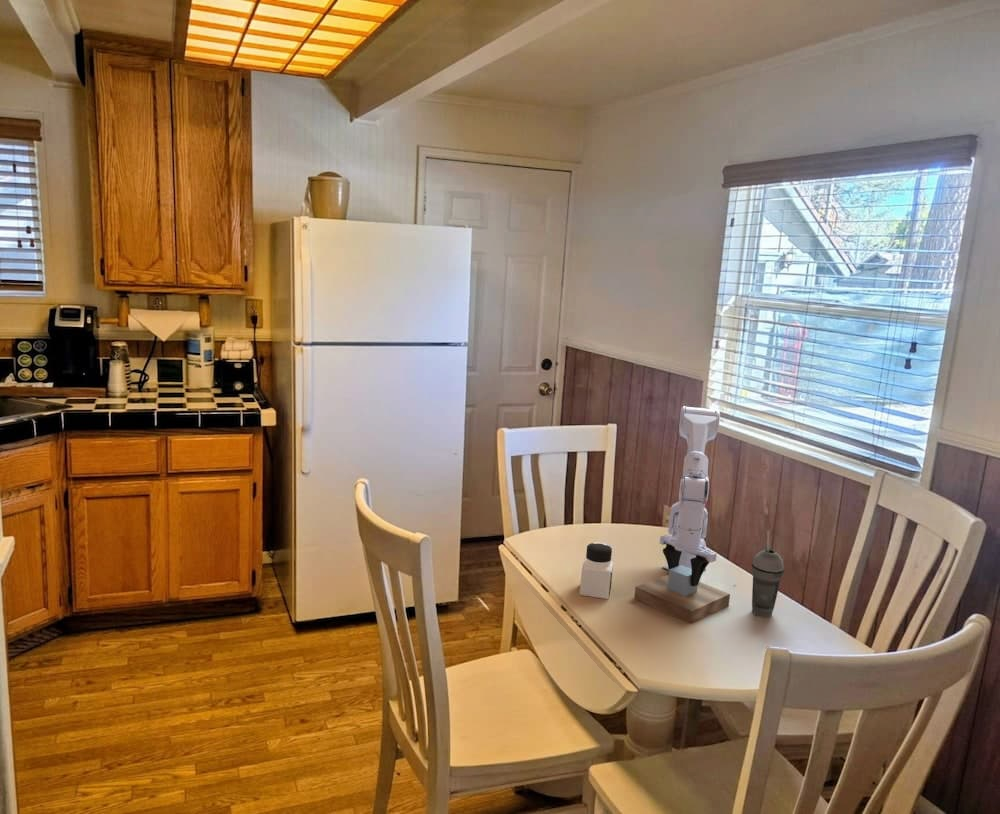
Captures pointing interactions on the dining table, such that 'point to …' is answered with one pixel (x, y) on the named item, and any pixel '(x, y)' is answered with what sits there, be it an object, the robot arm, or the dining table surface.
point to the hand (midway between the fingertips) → (683, 580)
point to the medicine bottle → (597, 571)
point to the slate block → (681, 580)
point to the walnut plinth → (682, 599)
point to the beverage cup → (766, 581)
